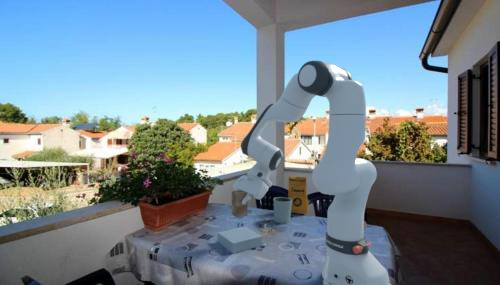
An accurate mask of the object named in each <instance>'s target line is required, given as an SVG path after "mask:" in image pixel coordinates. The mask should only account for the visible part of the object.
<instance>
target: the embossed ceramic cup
mask: <svg viewBox="0 0 500 285" xmlns="http://www.w3.org/2000/svg"><path fill="white" fill-rule="evenodd" d="M272 201H273V220H274V223H277V224H282V225H283V224H290V222H291V214H292V213H291V206H292V199H290V198H289V197H285V196H284V197H283V196H278V197H274V198H273V200H272Z"/></svg>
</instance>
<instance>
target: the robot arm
mask: <svg viewBox="0 0 500 285" xmlns="http://www.w3.org/2000/svg"><path fill="white" fill-rule="evenodd" d="M364 90H365V89H364V86H363V85H362V83H360V82H359V81H357V80H355V79H354V80H353V78H352V75H351V74H350V72H348V70H346V69H345V68H342V67H338V66H336V65H335V64H332V63H329V62H326V61H325V62H324V61H322V60H309V61H306V62H305V63H303V64H302V66H301V67H300V69H299V71H298V72H297V73H295V74H294V75H292V77H291V79H290V80H289V81H288V83H287V84H286V86H285V88H284V90H283V92H282V94H281V95H280V98H279V99H277V101H276V102H275V103H270V104H269V105H268V106H266V107H265V109H264V110H263V112H262V113H261V114H260V115H259V117H258V118H257V120H256V121H255V122H254V124H253V126H252V128H251V129H250V130H249V132H248V133H247V135H246V136H245V137H244V138H243V139H242V141H241V142H240V151H241V152H242V154H244V156H247V157H249V158H251V159H253V160H254V161H255V162H256V163H255V164H253V166H252V167H251V168H250V169H249V171H248V172H247V174H245V175H241V176H240V177H238V178H237V180H235V182H234V183H233V184H232V189H233V190H234V191H239V190H241V191H243V192H246V193H248V194H247V195H246V197H245V198H244V199H243V198H242V200H241V201H240V202H241V203H242V204H245V203H246V202H247V201H248V202H249V201H251V200H252V198H254V199H256V200H261V199H263V198H264V197H265V195H267V194H266V193H267V192H268V191H269V188H271V187H272V186H273V182H272V181H271V179H270V177H271V174H272V173H273V172H275V171H276V170H277V169H278V167H280V165H281V163H282V161H283V157H284V153H283V151H282V150H281V148H279V147H277V146H275V145H274V144H272V143H270V142H268V141H267V140H265V139H264V138H262V137H261V134H262V133H263V132H264V130H265V128H266V127H267V126H268V124H269V123H270V122H280V123H285V124H287V123H291V124H292V123H296V122H298V121H299V120H301V119H302V118H303V116H304V115H305V113H306V111H307V109H308V108H309V106H310V104H311V102H312V100H313V99H314V98H315V97H316V96H318V97H321V98H326V99H327V100H328V102H329V117H328V137H327V143H326V145H325V146H326V147H325V149H324V153H323V154H322V157H321V160H320V161H319V162H318V163H317V164H316V166H314V168H313V170H312V174H311V179H312V183H313V186H314V187H315V189H316V190H317V191H318V192H319V193H321V194H323V195H329V196H334V197H333V200H332V202H331V204H329V205H328V209H327V220H326V221H327V226H326V227H327V229H326V230H327V231H326V232H325V245H326V249H325V250H326V251H325V260H324V264H323V269H322V271H321V276H322V279H323V280H322V285H392V284H391V283H390V278H389V273H388V271H387V269H386V268H385V267H384V266H383V265H382V264H381V263H380V261H378V259H377V258H376V257H375V256H374V255H373V253H371V252H370V250H369V248H370V247H372V245H371V244H372V242H371V241H370V242H368V243H367V240H366V238H365V236H364V231H365V229H364V221H365V211H366V206H367V205H366V204H367V202H368V199H369V198H368V197H369V194H370V191H371V188H372V186H373V185H374V183H375V182H376V180H377V177H378V173H377V169H376V166H375V165H374V164H373V163H372V161H370V160H367V159H365V158H360V157H357V156H358V153H359V151H360V148H361V146H362V145H363V144H364V142H365V141H366V127H367V126H366V124H367V122H366V121H367V107H366V106H367V104H366V96H365V91H364ZM363 230H364V231H363Z"/></svg>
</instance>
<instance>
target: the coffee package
mask: <svg viewBox="0 0 500 285" xmlns="http://www.w3.org/2000/svg"><path fill="white" fill-rule="evenodd" d="M307 182H308V180H307V176H295V175H294V176H293V175H290V176H288V191H287V192H288V194H287V196H288V198H290V199H292V206H291V214H298V215H307V214H308V213H309V199H308V188H307V186H308V184H307Z"/></svg>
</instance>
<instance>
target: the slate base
mask: <svg viewBox="0 0 500 285" xmlns="http://www.w3.org/2000/svg"><path fill="white" fill-rule="evenodd" d="M217 243H219V244H220V245H222V246H223V247H224V248H226V250H228V251H229V252H231V253H232V254H237V253H241V252H245V251H248V250H250V249H255V248H258V247H261V246H263V235H261V234H259V233H258V232H255V231H253V230H252V229H250V228H248V227H247V226H241V227H237V228H233V229H228V230H222V231H218V232H217Z"/></svg>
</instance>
